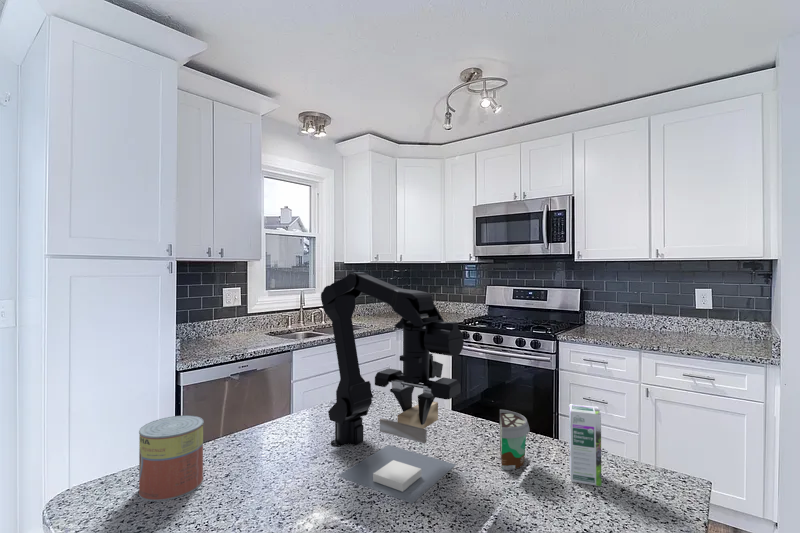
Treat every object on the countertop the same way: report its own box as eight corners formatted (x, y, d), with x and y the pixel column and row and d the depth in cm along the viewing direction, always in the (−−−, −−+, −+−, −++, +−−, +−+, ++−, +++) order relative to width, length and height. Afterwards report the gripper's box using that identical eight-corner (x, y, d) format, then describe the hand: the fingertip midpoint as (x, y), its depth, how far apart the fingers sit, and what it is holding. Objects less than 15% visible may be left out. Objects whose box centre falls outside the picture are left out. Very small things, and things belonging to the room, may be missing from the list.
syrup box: (570, 482, 83) (570, 410, 84) (569, 469, 89) (569, 402, 89) (601, 487, 81) (601, 414, 82) (598, 473, 87) (598, 405, 87)
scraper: (412, 413, 98) (412, 396, 98) (453, 423, 92) (453, 405, 92) (379, 431, 87) (379, 412, 87) (424, 443, 81) (424, 423, 81)
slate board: (337, 479, 84) (337, 475, 84) (388, 448, 99) (388, 444, 99) (412, 508, 74) (412, 503, 74) (456, 468, 89) (456, 464, 89)
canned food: (144, 478, 85) (144, 419, 85) (204, 467, 90) (204, 412, 90) (133, 507, 75) (133, 440, 75) (202, 493, 79) (202, 431, 79)
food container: (532, 479, 85) (532, 430, 85) (501, 476, 86) (501, 428, 86) (526, 453, 97) (526, 410, 97) (499, 450, 98) (499, 408, 98)
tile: (393, 467, 88) (373, 481, 82) (393, 460, 88) (373, 473, 82) (421, 477, 84) (402, 492, 78) (421, 468, 84) (402, 483, 78)
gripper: (471, 349, 90) (471, 420, 90) (401, 340, 101) (401, 404, 101) (448, 358, 81) (448, 437, 81) (373, 347, 92) (373, 418, 92)
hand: (416, 422), depth 89 cm, fingers closed on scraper, 3 cm apart
